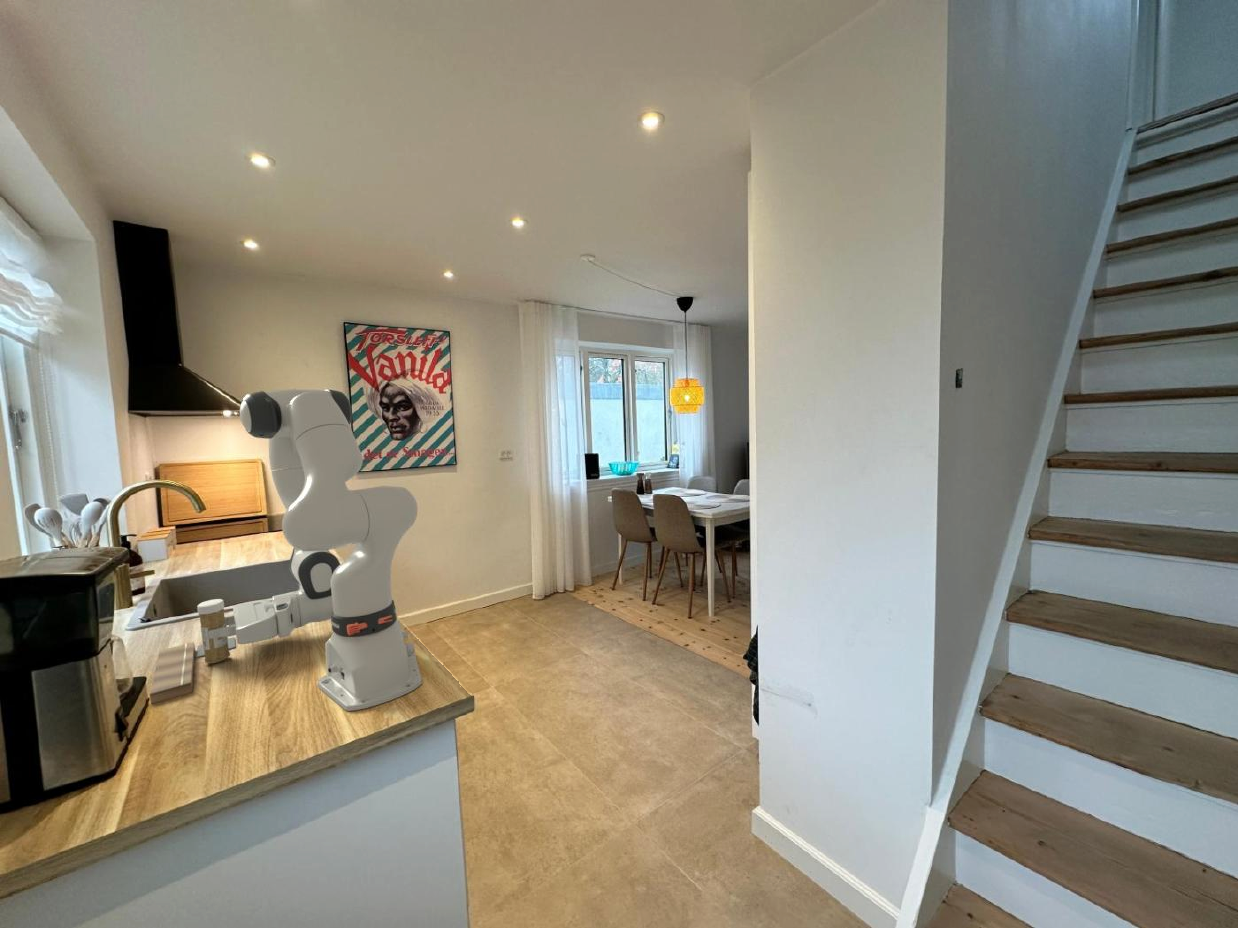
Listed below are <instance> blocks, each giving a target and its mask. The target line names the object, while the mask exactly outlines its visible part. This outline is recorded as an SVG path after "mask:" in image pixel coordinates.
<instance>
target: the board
mask: <svg viewBox="0 0 1238 928" xmlns="http://www.w3.org/2000/svg"><path fill="white" fill-rule="evenodd" d="M195 656H196V647H195V642H194V641H192V642H189V643H183V644H181V645H177V646H173V647H172V646H171V647H168V648H165V649H160V650H159V652H158V657H157V660H156V664H155V665H156V666H155V670H154V676H153V678H152V679H153V680H152V682H151V688H150V692H149V698H150V704H152V705H153V704H155V703H159V702H162V701H165V700H170V699H172V698H176V697H179V696H182V695H187V694H190V693H193V688H194V687H193V685H194V671H195V670H194V668H195Z"/></svg>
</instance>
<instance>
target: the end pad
mask: <svg viewBox="0 0 1238 928" xmlns="http://www.w3.org/2000/svg"><path fill="white" fill-rule="evenodd" d="M228 648H229V650H232V649H236V648H237V647H236V639H235V636H231V637H228ZM202 657H205V653H204V649H203V644H202V645H201V644H200V645H198V646H197V655H196V658H202Z"/></svg>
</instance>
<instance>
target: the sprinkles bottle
mask: <svg viewBox="0 0 1238 928" xmlns="http://www.w3.org/2000/svg"><path fill="white" fill-rule="evenodd" d="M196 607H197V608H196V609H197V614H198V616H199V621H200V623H199V624H200V632H201V639H202V640H201V641H202V645H203V649H204V653H205V656H204V662H205V663H207V664H217V663H219V662H222V661H224V660H226V659H228V658H230V656H231V652H230V649H229V648H228V638H229V637H217V638H213V639H210V638H209V634H208V631H209V630H210V629H213V628H217V627H219V628H222V627H227V626H226V624H225V602H224V599H222V598H215V599H209V600H205V601H202V602H200V603H199V604H198V605H197V606H196Z"/></svg>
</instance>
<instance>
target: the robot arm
mask: <svg viewBox="0 0 1238 928" xmlns="http://www.w3.org/2000/svg"><path fill="white" fill-rule="evenodd" d="M239 418H240V422H241V424H242V425H243V427H244V428H245V431H246V432H247V433H248V434H249V435H250V436H252V437H253V438H256V439H267V440H268V458H269V466H270V471H271V477H272V481H273V483H274V486H275V489H276V491H277V492H276V493H277V494H278V496H279V498H280V500H281V502H282V504H283V506H284V507H285V508H284V509H285V511H284V514H283V517H282V519H281V520H282V521H281V531H282V533H283V536H284V538H285V540H286V541H287V543H288V544H289V545H290V546H291V547H293V549H292V552H291V556H290V560H289V562H288V563H289V564H288V570H289V573H290V574H291V576H292V577H293V578H294V580H296V581H297V582H298V583H299V589H298V590H294V591H291V592H286V593H282V594H277V595H273V596H271V599H268V598H267V599H258V600H253V601H246V602H243V603H241V602H240V603H238V604H235V605H233V606H232V610H233V611H232V612H233V614H229V615H226V616H225V615H224V616H225V624H226V627H222V628H219V627H217V628H213V629H210V630H209V631H208V634H209V638H210V639H213V638H217V637H228V638H231V637H235V636H236V642H237V644H238V645H247V644H253V643H257V642H258V643H259V642H263V641H267V640H271V639H274V638H276V637H278V638H281V639H282V638H285V637H289V636H290V635H291V634H292V633H293V631H294V630H295V629H299V628H303V627H305V626H306V625H307V624H312V623H322V622H325V621H329V620H330V623H331V629H332V631H333V633H332V634H331V636H329V638H328V639H327V641H326V642H325V646H324V648H325V649H324V650H325V665H326V666H325V667H326V675H324V676H322V677H321V678H319V679H318V681H317V687H318V689H320V691H322V693H324V694H325V695H327V696H328V697H329V698H330V699H332V700H333V701H334V702H335V703H336V704H337V705H339V706H340V707H341V708H343V710H344V711H347V712H350V711H351V712H352V711H358V710H363V709H368V708H372V707H375V706H377V705H382V704H384V703H388V702H389V701H392V700H394V699H397V698H399V697H402V696H404V695H406V694H408V693H411V692H412V691H414V690H415V689H417V688H419V687H420V686H422V684H423V678H422V675H421V672H420V666H419V664H418V660H417V657H416V654H415V643H414V642H407V643H405V639H408V638H409V637H408V636H409V635H408V631H403V630H402V629H403V626H402V621H400V620H399V619H398V616H397V608H396V606H395V600H394V599H393V598H392V597H393V596H392V563H393V560H394V556H395V552H396V551H397V549H398V545H399V543H400V542H401V540H402V539H403V536H404V535H405V534H406V532H407V531H408V530H409V529H411V527H412V526H414V523H415V522H416V519H417V516H418V511H419V509H418V503H417V500H416V498H415V496H414V495H413V493H412V492H411V491H410V490H409V489H408V488H405V487H402V486H384V485H380V486H376V487H375V486H374V487H367V488H361V489H354V490H353V489H349V488H348V487H347V484H346V482H348V481H349V480H351V479H353V478H354V476H356V475H357V474H358V472H359V471H360V470H361V468H362V465H363V460H364V459H363V454H362V451H361V450H360V447H359V444H358V443H357V440H356V437H355V436H354V432H353V430H352V427H351V426H350V425H351V424H352V420H353V409H352V405H351V403H350V400H349V398H348V396H347V395H345V393H343V391H340V390H334V389H328V388H327V389H324V390H322V389H297V388H290V389H289V388H288V389H287V388H286V389H278V390H271V391H270V390H269V391H263V390H259V391H255V392H251V393H249V394H246V395H245V396H244V397H243V398H242V399H241V403H240V408H239ZM351 545H354V548H353V550H352V552H351V553H350V555H349V556H348V557H347V559H345V560H344V561H343V562H341V561H340V560H339V558H338V557H337V556H336V555H335V554H333V553H332V552H331V551H330V550H334V549H338V548H342V547H347V546H351Z"/></svg>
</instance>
